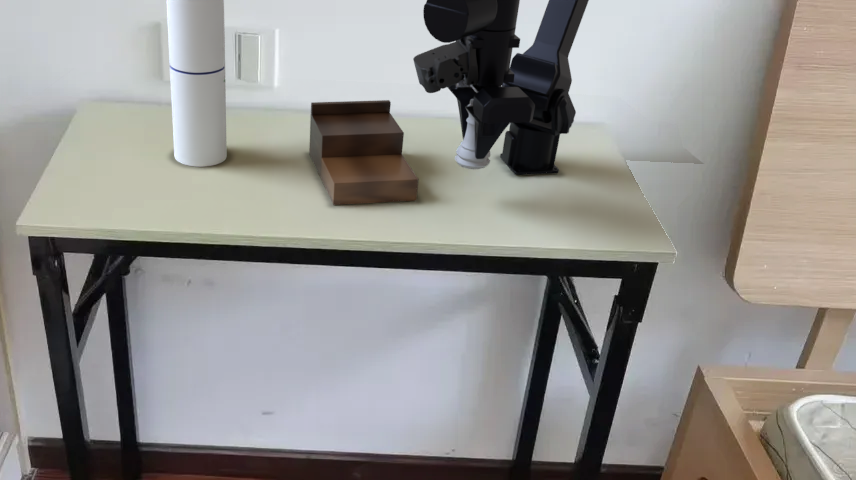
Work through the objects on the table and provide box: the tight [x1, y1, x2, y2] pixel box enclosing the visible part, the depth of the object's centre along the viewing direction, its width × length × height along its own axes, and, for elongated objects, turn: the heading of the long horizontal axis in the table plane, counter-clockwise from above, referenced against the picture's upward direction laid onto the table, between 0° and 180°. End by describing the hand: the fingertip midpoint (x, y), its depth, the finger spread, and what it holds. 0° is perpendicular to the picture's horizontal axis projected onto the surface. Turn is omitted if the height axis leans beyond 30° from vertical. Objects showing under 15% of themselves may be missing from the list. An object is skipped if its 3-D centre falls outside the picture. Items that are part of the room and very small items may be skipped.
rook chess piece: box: [454, 99, 491, 170], centre depth 119 cm, size 4×4×8 cm
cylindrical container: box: [165, 0, 228, 168], centre depth 125 cm, size 7×7×25 cm
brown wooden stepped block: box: [308, 99, 419, 206], centre depth 127 cm, size 11×16×8 cm
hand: (473, 150), depth 121 cm, fingers closed on rook chess piece, 4 cm apart
